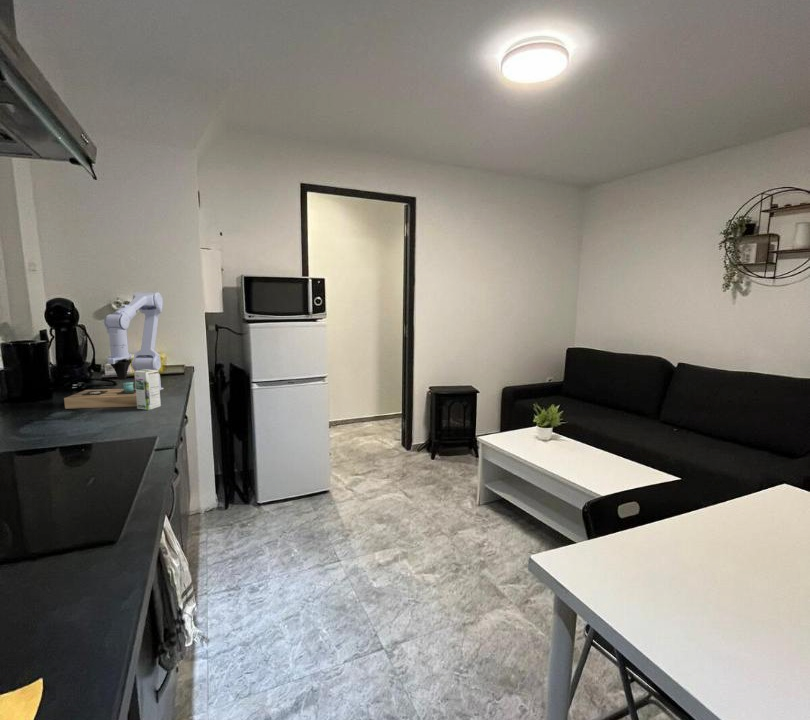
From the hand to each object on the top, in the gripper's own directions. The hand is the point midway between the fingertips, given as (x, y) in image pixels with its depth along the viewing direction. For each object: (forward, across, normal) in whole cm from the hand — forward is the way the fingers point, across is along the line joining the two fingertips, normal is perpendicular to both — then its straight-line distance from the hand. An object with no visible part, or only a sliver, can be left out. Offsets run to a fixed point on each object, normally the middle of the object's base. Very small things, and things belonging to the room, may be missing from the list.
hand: (122, 379), depth 162 cm
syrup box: (+10, +10, +13) cm, 19 cm away
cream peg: (+9, 0, -10) cm, 14 cm away
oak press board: (+9, 0, -4) cm, 10 cm away
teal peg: (+6, 0, +2) cm, 6 cm away
